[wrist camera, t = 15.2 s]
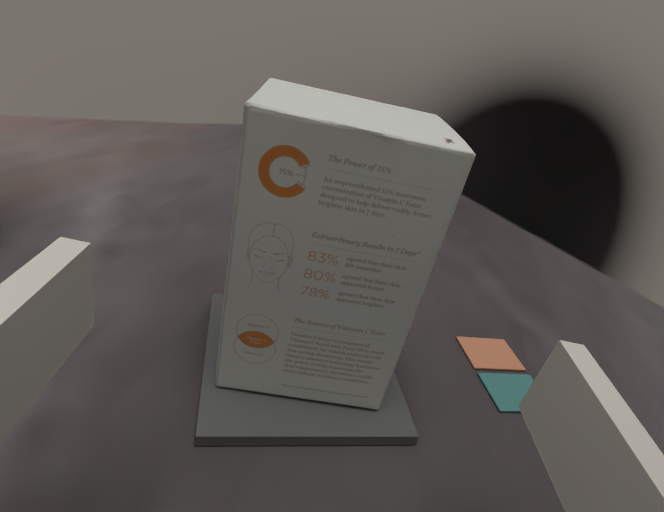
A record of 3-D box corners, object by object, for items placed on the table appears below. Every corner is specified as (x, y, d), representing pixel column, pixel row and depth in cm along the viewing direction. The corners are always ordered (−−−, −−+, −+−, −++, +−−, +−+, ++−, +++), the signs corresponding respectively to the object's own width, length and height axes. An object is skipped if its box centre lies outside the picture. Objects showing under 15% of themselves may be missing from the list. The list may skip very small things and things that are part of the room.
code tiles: (503, 340, 30) (503, 339, 30) (555, 412, 25) (556, 411, 25) (455, 337, 29) (456, 336, 29) (499, 412, 24) (500, 410, 24)
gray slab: (366, 312, 29) (369, 305, 29) (415, 444, 21) (419, 436, 20) (211, 300, 27) (212, 292, 26) (194, 445, 18) (195, 436, 18)
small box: (369, 329, 27) (441, 113, 20) (380, 414, 21) (482, 152, 15) (236, 306, 26) (267, 73, 19) (210, 388, 20) (242, 99, 14)
